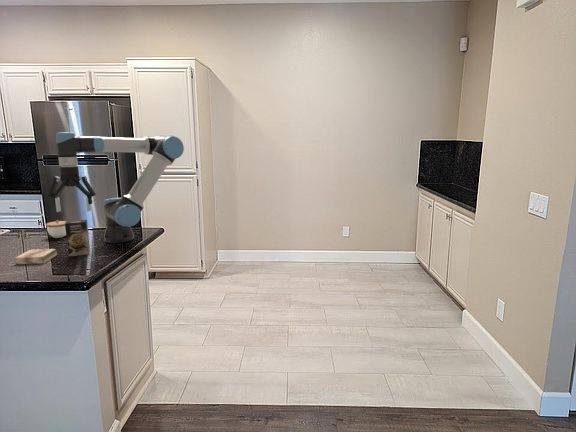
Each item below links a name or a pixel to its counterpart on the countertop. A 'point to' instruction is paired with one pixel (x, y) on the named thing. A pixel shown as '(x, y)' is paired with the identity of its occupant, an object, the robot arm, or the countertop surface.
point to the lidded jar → (56, 229)
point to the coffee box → (77, 237)
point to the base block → (36, 256)
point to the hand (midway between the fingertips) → (74, 211)
